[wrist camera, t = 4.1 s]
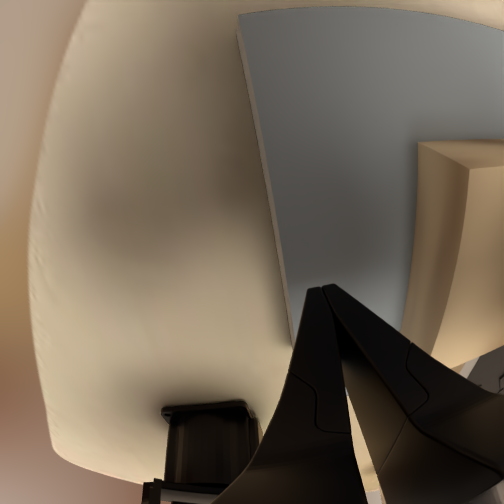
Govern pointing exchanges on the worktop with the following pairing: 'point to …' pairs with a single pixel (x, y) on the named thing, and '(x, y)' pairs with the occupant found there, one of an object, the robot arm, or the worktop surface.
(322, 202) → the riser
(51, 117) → the worktop surface
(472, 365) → the picture frame
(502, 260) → the coaster
